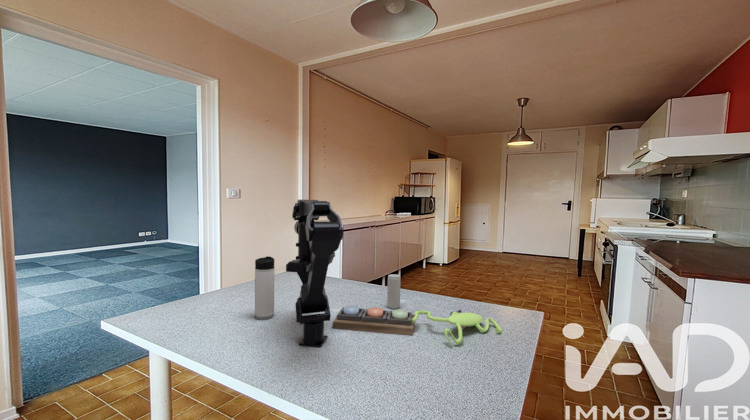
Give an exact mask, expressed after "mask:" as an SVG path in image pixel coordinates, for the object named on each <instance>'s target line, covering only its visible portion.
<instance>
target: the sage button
mask: <svg viewBox="0 0 750 420" xmlns="http://www.w3.org/2000/svg"><path fill="white" fill-rule="evenodd" d="M391 311H392V319H403V320H408V312H409V311H407V310H406V309H401V308H397V309H392V310H391Z"/></svg>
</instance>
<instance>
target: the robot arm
mask: <svg viewBox="0 0 750 420" xmlns="http://www.w3.org/2000/svg"><path fill="white" fill-rule="evenodd" d="M291 215H292V216H291V217H292V219H293V221H296V222H295V223H294V226H293V229H294V232H295V234H297V238H298V239H297V242H296V243H295V247H297V249H298V250H297V255H296V256H295V259H292V260H290V261H288V262H287V263H286V264H285V272H287V273H296V274H297V276H298V277H299V280H300V281H301V283H302V284H301V286H300V292H299V296H298V297H297V298H296V299H297V300H296V302H295V303H294V304H295V316H296V317H295V322H296V323H298V324H299V325H303V326H302V332H303V333H302V334H303V336H302V337H303V338H302V339H301V340H299V342H298V346H306V347H308V346H309V347H316V348H320V347H322V346H323V345H324V344H325V342H326V340H327V339H328V337H329V336H328V335H325V322H327V321H328V322H330V321H331V308H330V303H329V297H328V295H327V293H326V289H325V285H326V284H325V283H326V279H327V274H328V269H329V268H328V267H329V265H330V264H332V263H333V261H334V258H335V257H336V251H338V249H339V248H340V244H341V241H342V240H343V238H344V228H343V223H342V221H341V217H340V215H339V214H338V213H337V212H336V211H334V210H333V208H332V206H331V202H330V201H327V200H319V199H297V201H296V202H295V203H294V205H293V207H292V214H291ZM320 217H326V219H327V220H328V221H319V219H320ZM315 313H316V314H315ZM305 314H306V315H305Z"/></svg>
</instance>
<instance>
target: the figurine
mask: <svg viewBox="0 0 750 420" xmlns="http://www.w3.org/2000/svg"><path fill="white" fill-rule="evenodd" d="M413 315H415V317H414V318H413V319H412V320H411V321H412V323H414V324H415V322H416V321H417V320H418V318H419V315H426V316H427V319H429V320H430V321H432V322H440V323H449V324H451V325H454V326H456V328H457V331H458V335H457V336H458V338H457V339H456V337H455V336H454V334H453V333H452V331H451V330H450V329H449V328H444V329H443V334H444V336H445V337H446V339H447V341H448V343H449V345H450V347H451V348H453V344H452V342H451V341H450V338H449V335H448V334H450V337H451V338H452V341H453V342H454V343H455V344H456V345H459V344H461V343H462V341H463V330H464V329H465V328H466V327H468V328H471V327H473V326H475V328H477V330H479V331H480V332H482V333H485V332H487V331H488V329H489V325H490V323H491V324H492V325H493V326H494V327H495V328H494V331H495V332H496V333H497V334H501V333H503V331H502V328H501V326H500V325H499V324H498V323H497V322H496V320H494V319H493V318H491V317H486V319H485V321H484V318H483V316H481V315H480V314H477V313H473V312H463V311H462V309H458V310H456V311H450V312H449V317H436V316H432V312H431V311H429V310H424V309H423V310H416V311H415V312H414V314H413ZM483 321H484V324H485V326H484V327H482V326H481V325H480V324H481V323H482V322H483Z"/></svg>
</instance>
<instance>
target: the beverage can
mask: <svg viewBox="0 0 750 420" xmlns="http://www.w3.org/2000/svg"><path fill="white" fill-rule="evenodd" d="M386 293H387V297H386V298H387V299H386V301H387V302H386V304H387V306H386V307H388V309H391V310H396V309H400V308H401V275H400V274H396V273H395V274H393V273H391V274H388V276H387V292H386Z"/></svg>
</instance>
